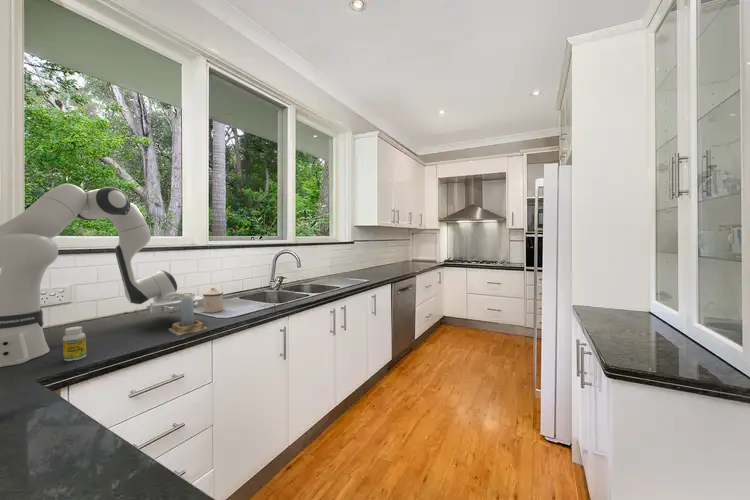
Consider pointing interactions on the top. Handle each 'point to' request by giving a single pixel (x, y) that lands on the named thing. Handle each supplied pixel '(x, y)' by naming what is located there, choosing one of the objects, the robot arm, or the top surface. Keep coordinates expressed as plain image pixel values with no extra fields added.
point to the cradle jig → (187, 328)
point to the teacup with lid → (213, 301)
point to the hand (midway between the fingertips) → (184, 307)
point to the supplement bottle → (74, 344)
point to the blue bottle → (187, 310)
